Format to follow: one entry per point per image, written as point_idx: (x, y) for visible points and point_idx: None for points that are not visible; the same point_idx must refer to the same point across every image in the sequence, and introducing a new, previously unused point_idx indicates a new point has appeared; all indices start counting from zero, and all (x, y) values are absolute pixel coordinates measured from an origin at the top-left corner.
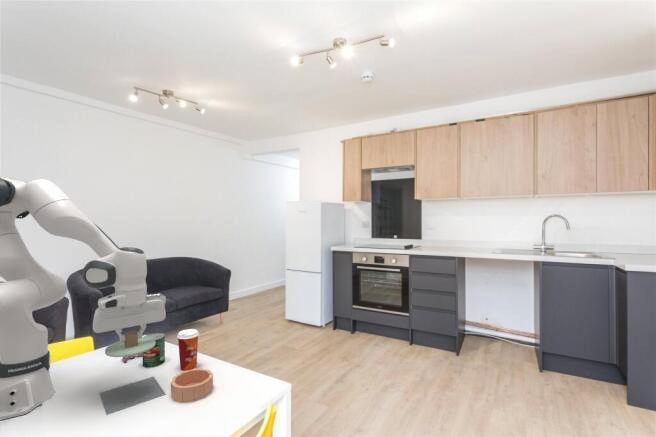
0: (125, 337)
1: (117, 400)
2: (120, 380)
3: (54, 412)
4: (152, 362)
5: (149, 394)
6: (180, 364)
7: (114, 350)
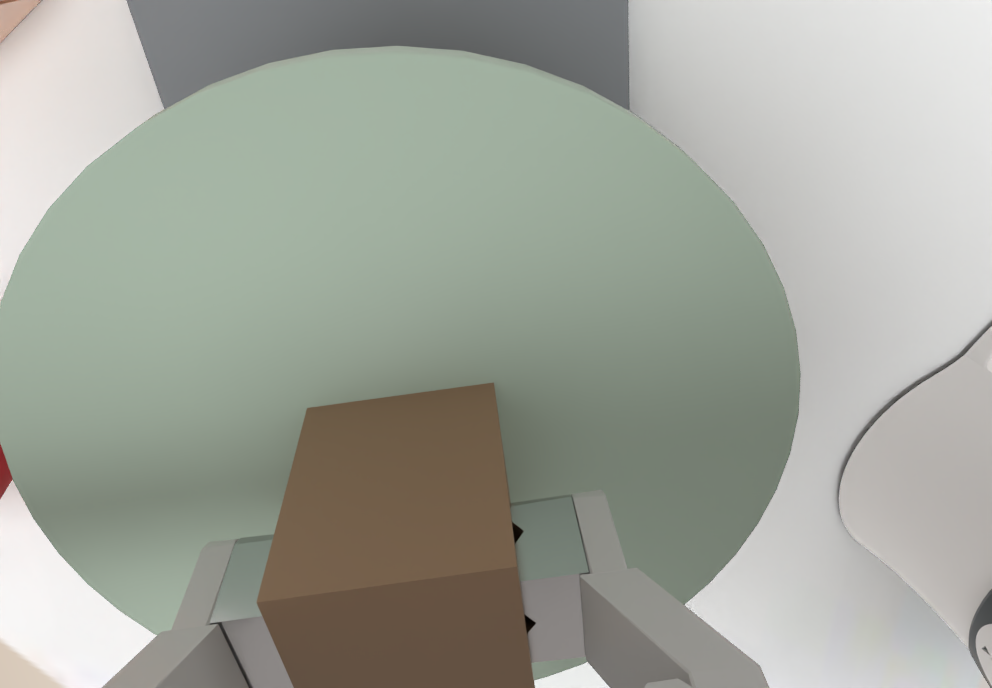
0: (527, 559)
1: None
2: None
3: (894, 232)
4: None
5: None
6: None
7: (678, 374)
